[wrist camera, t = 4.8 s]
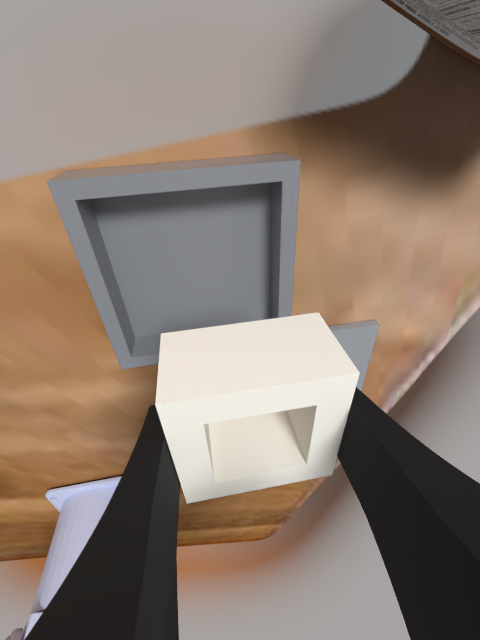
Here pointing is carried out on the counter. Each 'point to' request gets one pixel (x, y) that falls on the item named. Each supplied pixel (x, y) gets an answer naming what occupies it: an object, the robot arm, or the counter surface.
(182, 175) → the tray
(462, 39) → the tin
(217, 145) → the counter surface
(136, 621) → the robot arm
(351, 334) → the grey plate with post
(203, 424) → the ring
